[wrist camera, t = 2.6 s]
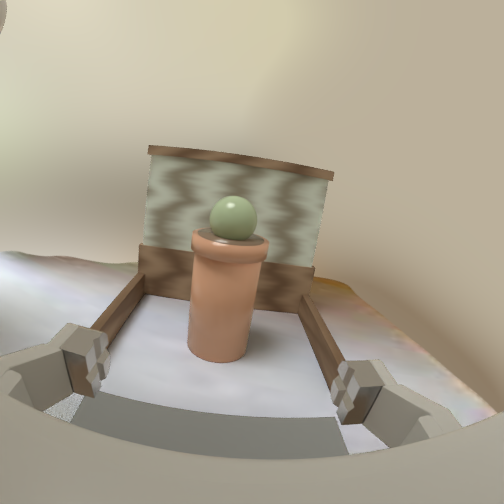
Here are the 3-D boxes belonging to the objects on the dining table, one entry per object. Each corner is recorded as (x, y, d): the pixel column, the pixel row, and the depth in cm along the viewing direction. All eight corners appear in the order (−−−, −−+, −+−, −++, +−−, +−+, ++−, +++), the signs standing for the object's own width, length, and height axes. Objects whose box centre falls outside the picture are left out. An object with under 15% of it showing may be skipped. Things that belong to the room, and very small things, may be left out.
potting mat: (45, 487, 9) (41, 481, 9) (91, 394, 19) (89, 388, 18) (365, 519, 11) (370, 515, 11) (331, 422, 20) (334, 416, 20)
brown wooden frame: (88, 362, 22) (85, 128, 17) (140, 289, 40) (151, 145, 34) (340, 392, 24) (403, 175, 19) (302, 310, 42) (331, 171, 37)
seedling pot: (178, 359, 26) (191, 193, 22) (188, 324, 33) (202, 188, 29) (251, 368, 27) (281, 206, 23) (248, 331, 34) (271, 198, 30)
